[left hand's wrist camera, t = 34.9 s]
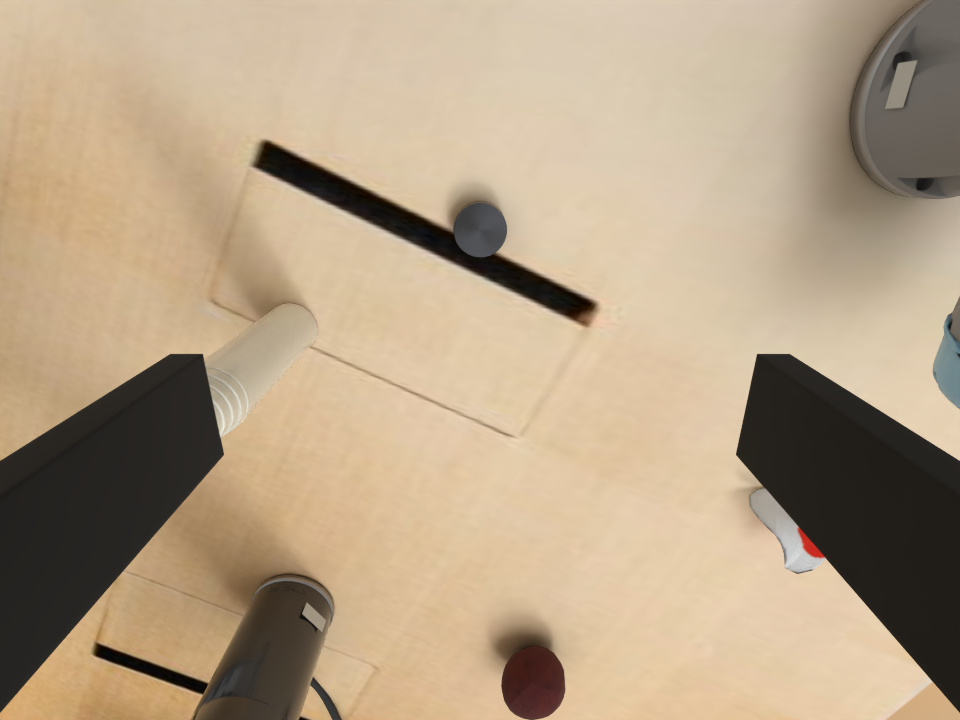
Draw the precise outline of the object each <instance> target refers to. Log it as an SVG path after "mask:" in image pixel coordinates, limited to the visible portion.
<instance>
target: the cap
mask: <svg viewBox="0 0 960 720" xmlns="http://www.w3.org/2000/svg"><path fill="white" fill-rule="evenodd" d="M506 234H507V226H506V222H505V219H504V217H503V215H502V213H501V211H500V210H499V209H498V208H497V207H496V206H494V205H493V204H491V203H488V202H484V201H477V202H472V203H470V204H468V205H466V206H465V207H464V208H463V209H462V210H461V211H460V212H459V214H458V216H457V218H456V220H455V224H454V237H455V240H456V242H457V244H458V246H459V247H460V248H461V249H462V250H463V251H464V252H465V253H467V254H469V255H471V256H474V257H486V256H490V255H492V254H494V253H495V252H496V251H498V250H499V249H500V248H501V246H502V245H503V243H504V241H505V238H506Z"/></svg>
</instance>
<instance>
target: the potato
mask: <svg viewBox="0 0 960 720" xmlns="http://www.w3.org/2000/svg"><path fill="white" fill-rule="evenodd" d="M501 687H502V693H503V697H504V701H505V703H506V705H507V706H508V708H509V709H510V711H511V712H513V713H514V714H515V715H517V716H519V717H521V718H524V719H529V720H535V719H541V718H544V717H547V716H549V715H551V714H552V713H553V712H554V711H555V710H556V709H557V708H558V707H559V706H560V704H561V702H562V700H563V698H564V694H565V678H564V670H563V667H562V665H561V663H560V661H559V660H558V658H557V657H556V655H555V654H554V653H553V652H552V651H550V650H548V649H546V648H543V647H539V646H531V647H528V648H525V649H522V650H520V651H519V652H517V653H516V654H514V655H513V656H512V657H511V658H510V659H509V661H508V662H507V664H506V666H505V669H504V672H503V676H502V685H501Z"/></svg>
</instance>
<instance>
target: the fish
mask: <svg viewBox="0 0 960 720" xmlns="http://www.w3.org/2000/svg"><path fill="white" fill-rule="evenodd" d="M749 502H750V507H751V509H752V510H753V512H754V513H755V514H756V515H757V517H758V518H759V519H760V520H761V521H762V522H763V523H764V524H765V526H766V527H767V528H768V529H769V530H770V531H771V532H772V533H773V534H775V535H776V537H777V539H778V540H779V542H780V543H781V546H782V549H783V552H784V559H785V568H786V569H788V570H790V571H792V572H795V573H797V574H799V573H803V572H807V571H811V570H813V569H815V568H816V567H817V566H819V565H820V564H821V563H822V562H823V561H824V560H825V559H826V558H825V557H824V556H823V554H822V553H821V552H820V551H819V550H818V549H817V547H816V546H815V545H814V544H813V543H812V542H811V541H810V539H809V538H808V537H807V536H806V535H805V534H804V532H803V531H802V530H801V529H800V528H799V527H798V526H797V524H796V523H795V522H794V521H793V520H792V519H791V518H790V516H789V515H788V514H787V513H786V512H785V511H784V509H783V508H782V507H781V506H780V505H779V504H778V503H777V501H776V500H775V499H774V498H773V497H772V496H771V494H770V493H769V492H768V491H767V490H766V489H765V488H761V489H758V490H756V491H754V492H753V493H751V495H750V496H749Z"/></svg>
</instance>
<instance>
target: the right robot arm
mask: <svg viewBox="0 0 960 720" xmlns="http://www.w3.org/2000/svg"><path fill="white" fill-rule="evenodd" d="M333 616H334V603H333V600H332V598H331V596H330V594H329V593H328V592H327V591H326V590H325V589H324V588H323V587H322V586H321V585H319V584H318V583H316V582H315V581H313V580H310V579H308V578H305V577H301V576H296V575H281V576H276V577H273V578H270V579H268V580H266V581H265V582H263V583H262V584H261V585H260V586H259V587H258V589H257V590H256V592H255V594H254V596H253V598H252V600H251V604H250V606H249V607H248V609H247V611H246V613H245V615H244V617H243V619H242V621H241V623H240V624H239V626H238V628H237V630H236V632H235V634H234V636H233V638H232V640H231V642H230V644H229V646H228V648H227V650H226V652H225V653H224V655H223V657H222V659H221V661H220V663H219V665H218V667H217V669H216V671H215V673H214V675H213V677H212V679H211V680H210V682H209V684H208V686H207V688H206V690H205V692H204V694H203V696H202V698H201V700H200V702H199V704H198V706H197V708H196V709H195V711H194V714H193V716H192V718H191V720H299V718H300V715H301V712H302V708H303V705H304V702H305V699H306V696H307V693H308V690H309V687H310V685H311V686H312V687H313V688H314V689H315V690H316V692H317V693H318V694H319V696H320V697H321V699H322V700H323V702H324V704H325V706H326V708H327V709H328V711H329V713H330V715H331V717H332V719H333V720H341V719H340V717H339V715H338V713H337V711H336V709H335V707H334V705H333V703H332V701H331V699H330V697H329V696H328V694H327V693H326V692H325V690H324V689H323V688H322V687H321V686H320V684H319V683H318V682H317V681H316V680H315V679H314V678H313V674H314V671H315V668H316V665H317V662H318V659H319V656H320V653H321V650H322V647H323V644H324V641H325V638H326V635H327V631H328V628H329V626H330V624H331V622H332V619H333Z"/></svg>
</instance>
